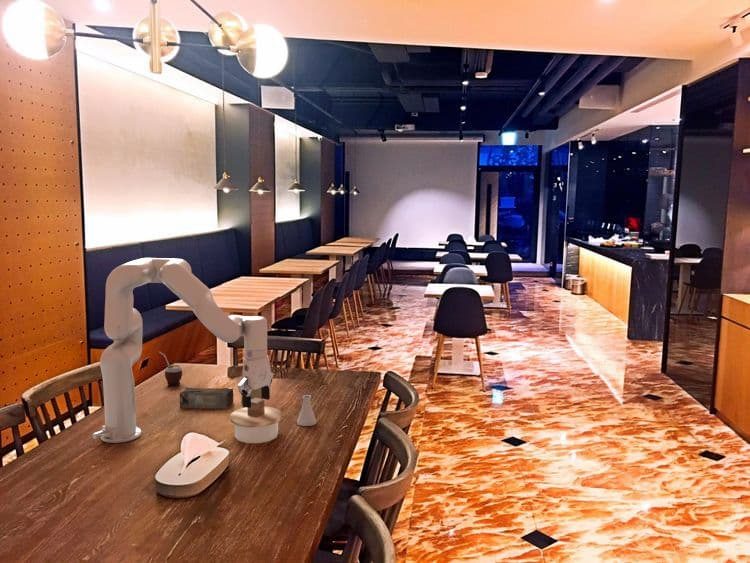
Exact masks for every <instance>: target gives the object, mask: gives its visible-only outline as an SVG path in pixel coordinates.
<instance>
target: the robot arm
mask: <svg viewBox="0 0 750 563" xmlns="http://www.w3.org/2000/svg"><path fill="white" fill-rule="evenodd" d="M148 283H149V284H150V283H152V284H154V283H155V284H156V283H157V284H163V285H164V286H166V287H167V289H169V290H170V291H171V292H172V293H174V295H176V296H177V297H178V298H179V299H180V300H181V301H182V302H184V304H186V305H187V306H188V307H189V308H190V309H191V311H192V312H193V313H194V315H195V316H196V317H197V318H198V320H199V321H200V323H201V324H202V325H203V326H204V327H205V328H206V329H208V331H209V332H210V333H211V334H213V335H214V336H215V337H216V338H217V339H219V340H220V341H222V342H224V343H228V344H229V343H235V342H236V341H238V340H239V339H240V337H243V338H244V339H243V340H244V341H243V343H244V344H243V345H244V348H243V349H244V350H243V351H244V354H243V356H244V359H243V363H242V364H243V365H242V375H241V381H240V382H239V383H238V384H237V389H238V392H239V394H240V395H241V398H242V403H243V406H242V408H243V407H247V408H251V396H250V393H251V391H252V390H256V389H259V388H261V398H262V399H263V400H268V401H269V400H271V398H270V397H271V393H270V390H271V389H270V388H271V387H272V383H273V378H274V372H272V368H271V361H270V358H269V355H268V320H267V319H266V317H265V316H262V315H261V316H260V315H252V316H246V315H245V316H244V315H239V314H229V315H227V314H226V313H225V312H224V311H223V310H222V309H221V308H220V306H218V304H217V303H216V301H215V299H214V296H213V293H212V291H211V290H210V288H209V287H208V286H207V285H206V284H205V283H203V282H202V281H201V280H200V279H199V278H198V277H196V276H195V275H194V273H193V272H192V267H191V265H190V263H189V262H187V261H186V259H183V258H169V257H168V258H166V257H165V258H159V257H158V258H157V257H143V258H142V257H141V258H138V259H134V260H130V261H128V262H126V263H125V262H124V263H123V264H121V265H118V266H117V267H114V269H112V270H111V272H110V273H109V275H108V276H107V279H106V282H105V304H104V322H103V324H104V326H103V327H104V328H103V329H104V332H105V335H106V336H107V337H108V338H109V339H111V340H112V341H113V343H112V344H110V345H108V346H107V347H106V348H105V349H104V350H103V352H102V353H101V356H100V359H99V365H100V370H101V376H102V384H103V385H102V387H103V388H102V389H103V403H104V425H102V428H101V429H100V431H96V432H95V431H94V432H93V433H92V438H93V439H94V440H96V439H99V438H100V440H101V441H103V442H105V443H111V444H112V443H113V444H115V443H116V444H119V443H126V442H130V441H134V440H135V439H137V438H139V437H140V436H141V435H142V430H141V428H140V427H138V426H137V417H136V416H137V414H136V412H137V411H136V391H135V390H136V389H135V378H134V373H133V368H132V367H133V365H134V364H135V363H137V362H138V360H140V358H141V355H142V352H143V331H144V330H143V327H144V326H143V318H142V315H141V313H140V311H139V310H137V309H136V308H134V294H133V291H134V289H135V288H138V287H141V286H143V285H146V284H148ZM247 389H248V392H247V391H246V390H247ZM242 403H241V404H242Z"/></svg>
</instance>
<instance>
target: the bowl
mask: <svg viewBox="0 0 750 563" xmlns="http://www.w3.org/2000/svg"><path fill="white" fill-rule="evenodd" d="M278 435H279V421H278V422H277V423H275V424H272V425H268V426H263V427H242V426H238V425H235V424H234V438H235V439H236V441H238V442H242V443H245V444H261V443H268V442H271V441H272V440H275V439H276V438H278Z"/></svg>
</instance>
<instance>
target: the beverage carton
mask: <svg viewBox="0 0 750 563" xmlns="http://www.w3.org/2000/svg"><path fill="white" fill-rule="evenodd" d="M178 394H179V408H181V407H182V408H184V409H185V408H186V409H188V408H189V409H224V410H226V409H229V408H230V407H231V406H232V405H233V404H234V388H227V387H223V388H222V387H221V388H219V387H218V388H217V387H216V388H215V387H213V388H212V387H210V388H209V387H205V388H204V387H186V388H184V389H183V390H182V391H181V392H179V393H178ZM182 408H181V409H182Z"/></svg>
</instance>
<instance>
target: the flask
mask: <svg viewBox="0 0 750 563" xmlns="http://www.w3.org/2000/svg"><path fill="white" fill-rule="evenodd" d="M311 399H312V395H309V394H304V395H302V405H301V406H302V407H301V409H300V412H299V414H298V418H297V421H296V425H298V426H300V427H312V426H314V425H316V424H317V420H316V417H315V414H314V411H313V408H312V404H311Z"/></svg>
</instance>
